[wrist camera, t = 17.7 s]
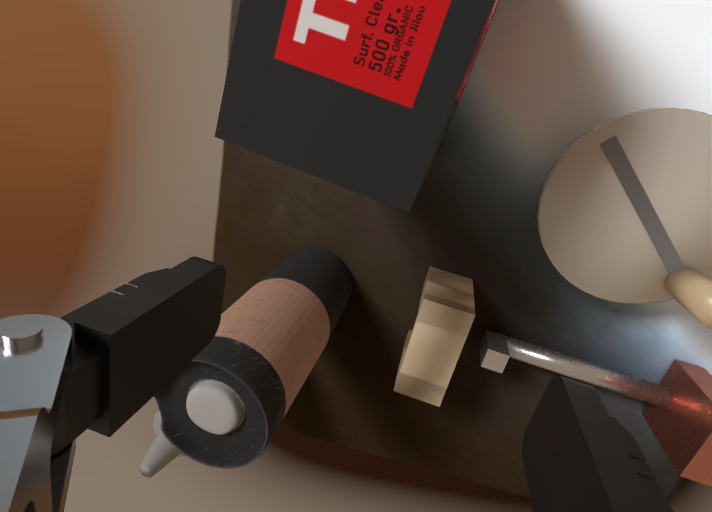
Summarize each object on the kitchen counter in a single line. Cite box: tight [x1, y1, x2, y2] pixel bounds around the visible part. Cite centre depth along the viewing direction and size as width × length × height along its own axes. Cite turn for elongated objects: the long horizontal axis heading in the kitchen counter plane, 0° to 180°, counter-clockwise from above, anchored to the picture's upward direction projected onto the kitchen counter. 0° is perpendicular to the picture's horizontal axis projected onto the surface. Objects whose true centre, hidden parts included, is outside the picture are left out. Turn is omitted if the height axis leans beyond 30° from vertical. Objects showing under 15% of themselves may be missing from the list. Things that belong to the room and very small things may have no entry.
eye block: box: [393, 267, 475, 407], centre depth 37 cm, size 4×9×7 cm, turn 166°
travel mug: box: [154, 248, 352, 469], centre depth 32 cm, size 8×8×20 cm
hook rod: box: [479, 330, 712, 487], centre depth 35 cm, size 18×6×7 cm, turn 76°
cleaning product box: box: [215, 0, 499, 213], centre depth 23 cm, size 16×9×20 cm, turn 161°
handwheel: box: [537, 108, 712, 329], centre depth 28 cm, size 14×14×6 cm
